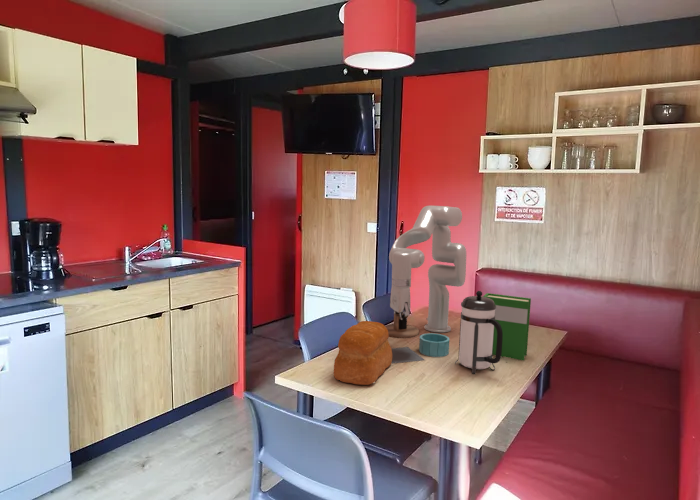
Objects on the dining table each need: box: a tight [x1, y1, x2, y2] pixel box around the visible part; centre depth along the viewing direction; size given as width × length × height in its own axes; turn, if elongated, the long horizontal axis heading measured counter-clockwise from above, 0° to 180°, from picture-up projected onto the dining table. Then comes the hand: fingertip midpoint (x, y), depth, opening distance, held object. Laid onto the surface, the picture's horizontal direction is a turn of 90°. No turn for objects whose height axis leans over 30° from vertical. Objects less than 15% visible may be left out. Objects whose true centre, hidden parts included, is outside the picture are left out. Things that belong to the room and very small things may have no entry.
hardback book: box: [482, 292, 532, 361], centre depth 199 cm, size 18×7×24 cm, turn 62°
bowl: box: [418, 332, 450, 358], centre depth 199 cm, size 12×12×6 cm
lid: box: [384, 313, 420, 339], centre depth 193 cm, size 15×15×7 cm
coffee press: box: [454, 290, 503, 375], centre depth 181 cm, size 17×16×30 cm
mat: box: [391, 346, 426, 365], centre depth 194 cm, size 16×16×1 cm
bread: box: [333, 320, 392, 386], centre depth 176 cm, size 16×26×17 cm, turn 157°
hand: (400, 326), depth 193 cm, fingers closed on lid, 4 cm apart
